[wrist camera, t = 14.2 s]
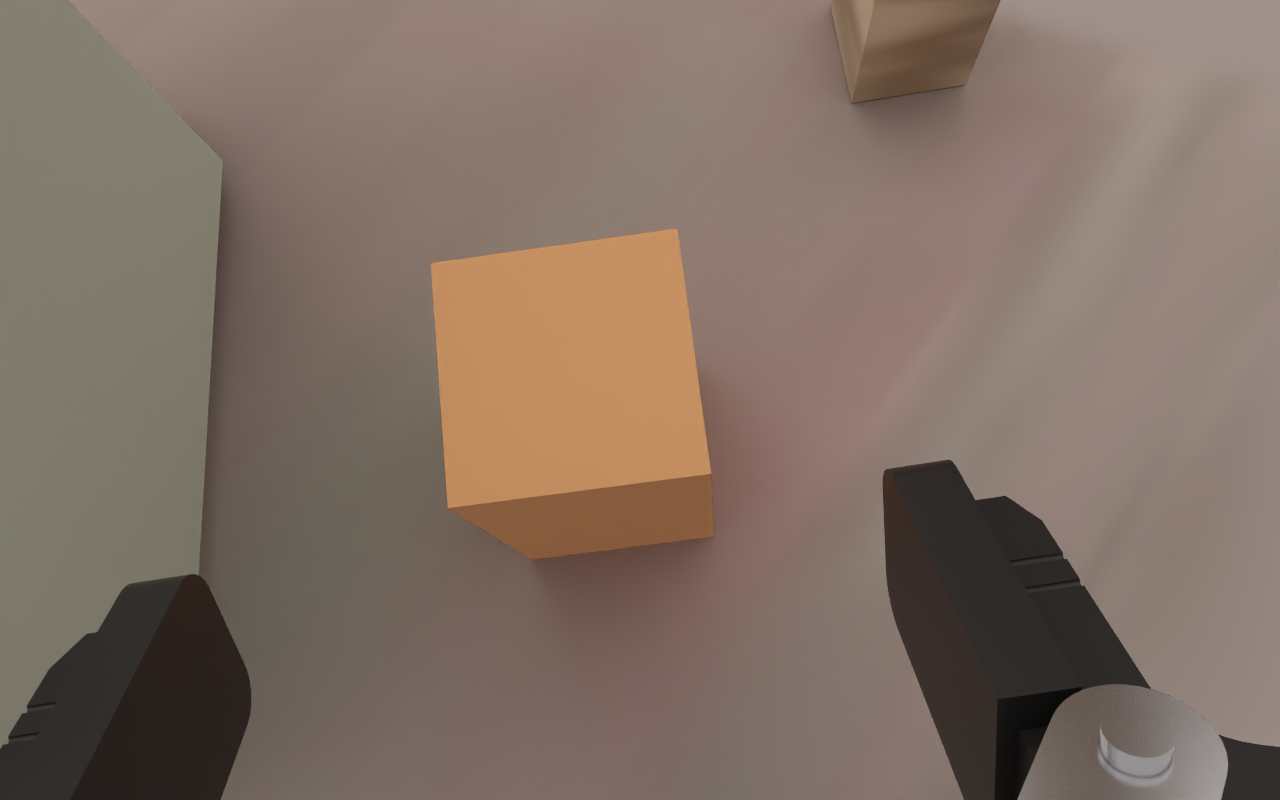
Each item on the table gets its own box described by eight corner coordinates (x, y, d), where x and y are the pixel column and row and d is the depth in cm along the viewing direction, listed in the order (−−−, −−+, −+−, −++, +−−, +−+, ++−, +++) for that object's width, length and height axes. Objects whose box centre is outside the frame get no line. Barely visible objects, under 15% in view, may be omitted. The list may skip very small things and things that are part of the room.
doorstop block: (531, 559, 25) (447, 508, 17) (515, 384, 26) (430, 263, 18) (713, 536, 25) (711, 473, 17) (690, 361, 26) (677, 228, 18)
